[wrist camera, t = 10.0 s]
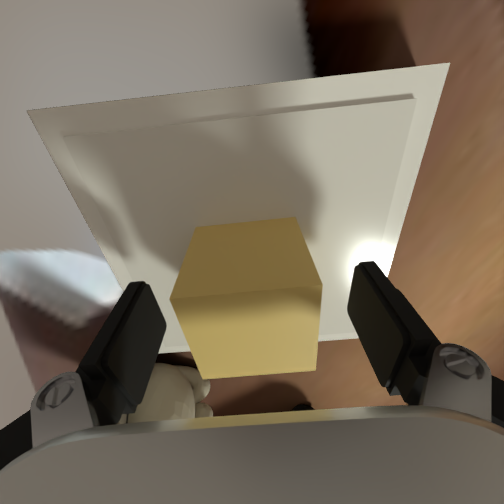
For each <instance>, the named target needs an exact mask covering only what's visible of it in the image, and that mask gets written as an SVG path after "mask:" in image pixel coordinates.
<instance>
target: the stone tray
mask: <svg viewBox="0 0 504 504" xmlns="http://www.w3.org/2000/svg"><path fill="white" fill-rule="evenodd" d="M449 65H450V63H443V64H434V65H425V66H416V67H408V68H399V69H390V70H381V71H372V72H363V73H354V74H346V75H337V76H328V77H319V78H310V79H301V80H292V81H284V82H275V83H266V84H258V85H248V86H239V87H232V88H231V87H230V88H222V89H213V90H205V91H195V92H186V93H177V94H169V95H160V96H152V97H142V98H133V99H124V100H115V101H106V102H98V103H89V104H80V105H72V106H62V107H53V108H45V109H36V110H28V111H27V113H28V115H29V116H30V118H31V120H32V122H33V124H34V125H35V128H36V129H37V131H38V133H39V135H40V137H41V139H42V141H43V143H44V144H45V146H46V148H47V150H48V152H49V153H50V156H51V157H52V159H53V161H54V163H55V165H56V166H57V168H58V170H59V172H60V174H61V176H62V178H63V180H64V182H65V183H66V185H67V187H68V189H69V191H70V193H71V194H72V196H73V198H74V200H75V202H76V204H77V206H78V208H79V209H80V211H81V213H82V215H83V217H84V219H85V221H86V223H87V224H88V226H89V228H90V230H91V232H92V234H93V235H94V237H95V239H96V241H97V243H98V245H99V246H100V249H101V250H102V252H103V254H104V256H105V258H106V260H107V262H108V263H109V265H110V267H111V269H112V271H113V273H114V275H115V276H116V278H117V280H118V282H119V284H120V286H121V288H122V289H123V291H124V290H125V289H126V287H127V285H128V284H129V283H130V282H136V281H144V282H146V284H149V285H150V287H151V289H152V291H153V294H154V296H155V298H156V300H157V303H158V305H159V307H160V309H161V312H162V314H163V316H164V318H165V321H166V324H167V328H166V332H165V335H164V338H163V341H162V344H161V347H160V350H159V353H158V354H160V353H172V352H185V351H191V350H190V348H189V345H188V343H187V341H186V338H185V336H184V333H183V331H182V329H181V326H180V324H179V321H178V319H177V317H176V314H175V312H174V309H173V307H172V305H171V302H170V300H169V298H170V296H171V293H172V290H173V287H174V285H175V282H176V279H177V277H178V274H179V271H180V268H181V266H182V263H183V260H184V257H185V255H186V252H187V249H188V247H189V244H190V241H191V238H192V236H193V233H194V230H195V228H196V227H202V226H212V225H221V224H231V223H240V222H250V221H260V220H269V219H279V218H289V217H296V219H297V222H298V224H299V227H300V229H301V232H302V234H303V237H304V239H305V242H306V244H307V247H308V249H309V252H310V254H311V257H312V259H313V262H314V264H315V267H316V269H317V272H318V274H319V277H320V279H321V282H322V284H323V289H322V300H321V312H320V324H319V336H318V341H328V340H341V339H354V338H359V337H358V335H357V333H356V331H355V328H354V326H353V324H352V322H351V320H350V318H349V315H348V312H347V305H348V299H349V294H350V289H351V283H352V278H353V273H354V268H355V266H356V265H358V264H359V262H364V261H375V262H376V263H377V265H378V266H379V267H380V269H381V270H382V271H383V273H384V274H385V275H386V277H387V276H388V273H389V269H390V266H391V263H392V259H393V256H394V252H395V249H396V246H397V242H398V239H399V235H400V232H401V229H402V225H403V222H404V218H405V215H406V212H407V208H408V205H409V201H410V198H411V195H412V191H413V188H414V184H415V181H416V177H417V174H418V171H419V167H420V164H421V160H422V157H423V154H424V150H425V147H426V143H427V140H428V137H429V133H430V130H431V126H432V123H433V120H434V116H435V113H436V109H437V106H438V103H439V99H440V96H441V92H442V89H443V86H444V82H445V79H446V75H447V72H448V68H449Z"/></svg>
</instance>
